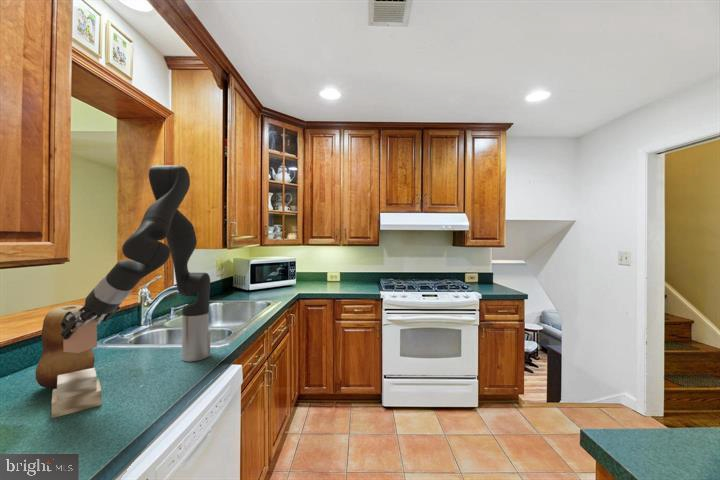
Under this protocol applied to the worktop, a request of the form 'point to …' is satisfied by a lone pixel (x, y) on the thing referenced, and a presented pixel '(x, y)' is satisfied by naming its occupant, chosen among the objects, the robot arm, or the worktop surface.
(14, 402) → the worktop surface
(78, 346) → the salmon pink rectangular block
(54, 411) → the beige stepped block
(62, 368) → the butternut squash
